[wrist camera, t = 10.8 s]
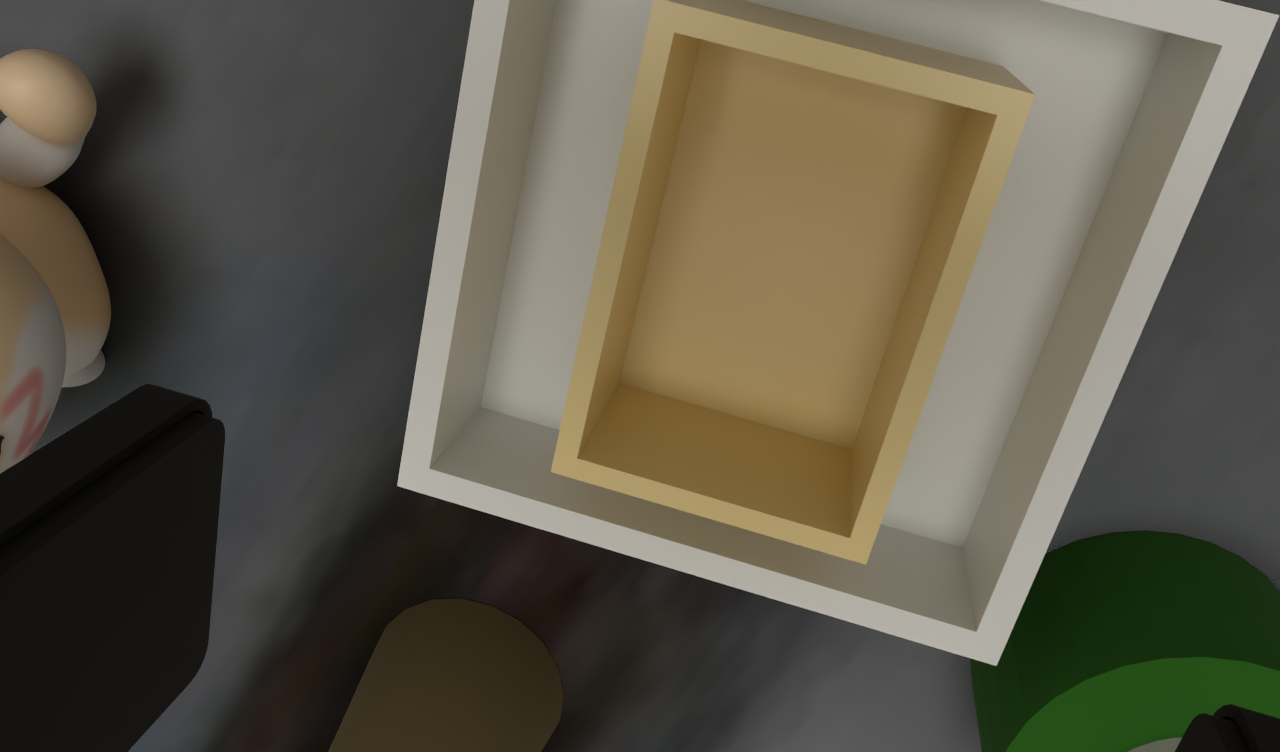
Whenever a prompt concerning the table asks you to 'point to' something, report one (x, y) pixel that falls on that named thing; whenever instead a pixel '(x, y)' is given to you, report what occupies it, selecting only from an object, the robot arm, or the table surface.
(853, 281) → the small crate
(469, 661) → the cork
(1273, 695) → the candle
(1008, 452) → the large crate
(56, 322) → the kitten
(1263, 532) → the table surface
